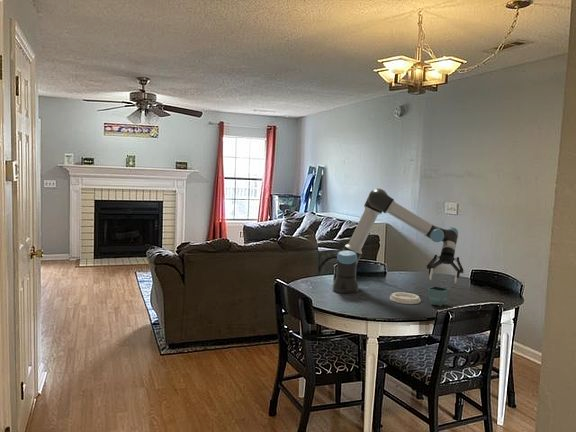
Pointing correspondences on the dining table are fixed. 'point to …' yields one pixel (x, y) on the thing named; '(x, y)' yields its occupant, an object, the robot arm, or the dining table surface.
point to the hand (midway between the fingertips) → (442, 280)
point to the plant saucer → (405, 298)
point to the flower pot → (438, 295)
